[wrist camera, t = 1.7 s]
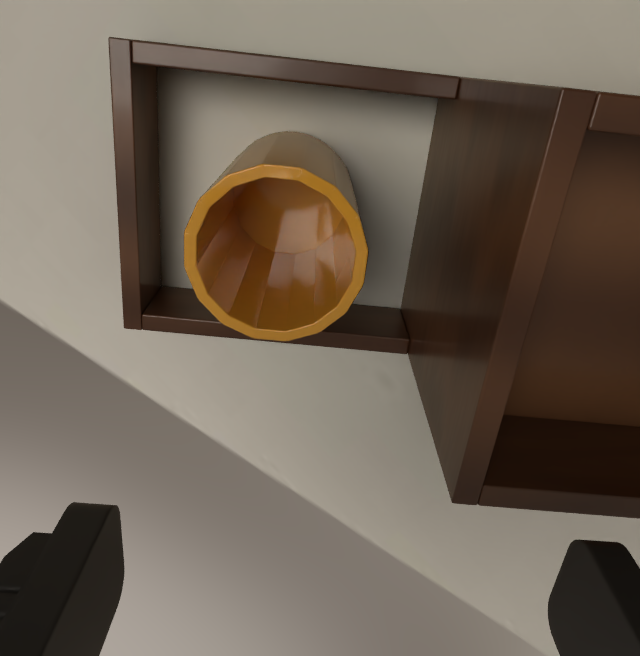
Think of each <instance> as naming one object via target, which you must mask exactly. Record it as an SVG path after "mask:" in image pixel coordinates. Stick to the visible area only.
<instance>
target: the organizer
mask: <svg viewBox="0 0 640 656" xmlns="http://www.w3.org/2000/svg"><path fill="white" fill-rule="evenodd" d="M109 57H110V76H111V95H112V113H113V132H114V151H115V169H116V188H117V207H118V225H119V244H120V263H121V281H122V300H123V319H124V328H126V329H137V330H142V329H143V330H151V331H162V332H172V333H183V334H194V335H205V336H216V337H227V338H237V339H248V340H259V341H270V342H281V343H292V344H303V345H313V346H324V347H335V348H346V349H357V350H368V351H378V352H389V353H400V354H407V353H408V356H409V359H410V363H411V366H412V369H413V373H414V376H415V380H416V383H417V386H418V390H419V393H420V396H421V400H422V403H423V407H424V410H425V413H426V417H427V420H428V423H429V427H430V430H431V434H432V437H433V440H434V444H435V447H436V450H437V454H438V457H439V461H440V464H441V467H442V471H443V474H444V477H445V481H446V484H447V488H448V491H449V494H450V498H451V501H452V503H456V504H468V505H477V503H478V505H480V506H492V507H505V508H517V509H529V510H542V511H554V512H566V513H579V514H591V515H603V516H616V517H628V518H640V96H635V95H626V94H617V93H608V92H600V91H591V90H582V89H573V88H564V87H555V86H545V85H535V84H525V83H516V82H506V81H496V80H486V79H477V78H467V77H458V76H449V75H440V74H431V73H422V72H413V71H405V70H396V69H387V68H378V67H369V66H361V65H352V64H343V63H334V62H325V61H317V60H308V59H299V58H290V57H281V56H272V55H264V54H255V53H246V52H237V51H228V50H220V49H211V48H202V47H193V46H184V45H176V44H167V43H158V42H149V41H140V40H131V39H123V38H114V37H109ZM157 67H163V68H172V69H181V70H190V71H199V72H208V73H217V74H226V75H235V76H244V77H253V78H262V79H271V80H280V81H289V82H298V83H307V84H316V85H325V86H333V87H342V88H351V89H360V90H369V91H378V92H387V93H396V94H405V95H414V96H423V97H432V98H439V99H438V104H437V110H436V115H435V121H434V127H433V132H432V138H431V143H430V149H429V154H428V160H427V166H426V171H425V177H424V182H423V188H422V193H421V199H420V205H419V210H418V216H417V221H416V227H415V232H414V238H413V244H412V249H411V255H410V260H409V266H408V272H407V277H406V283H405V288H404V294H403V299H402V305H401V310H400V309H395V308H384V307H374V306H364V305H353V304H351V306H350V308H349V309H348V311H347V312H346V313H345V314H344V315H343V316H341V317H340V318H339V319H337V320H336V321H335V322H333V323H332V324H331V325H329V326H328V327H326V328H325V329H324V330H322V331H321V332H319V333H316V334H313V335H309V336H305V337H302V338H298V339H294V340H290V341H276V340H265V339H254V338H251V337H249V336H247V335H245V334H243V333H241V332H238V331H236V330H234V329H232V328H230V327H228V326H226V325H224V324H223V323H221V322H220V321H219V320H218V319H217V318H216V317H215V316H214V315H213V314H212V313H211V312H210V311H209V310H208V309H207V308H206V307H205V306H204V305H203V304H202V303H201V302H200V301H199V299H198V298H197V296H196V294H195V291H194V289H186V288H175V287H165V286H163V287H161V247H160V200H159V152H158V105H157Z"/></svg>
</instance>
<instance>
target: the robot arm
mask: <svg viewBox="0 0 640 656" xmlns="http://www.w3.org/2000/svg"><path fill="white" fill-rule="evenodd" d="M123 580H124V557H123V545H122V533H121V520H120V511H119V508H118V506H117V505H103V504H88V503H75V502H73V503H71V504H70V505H69V506H68V507H67V509H66V510H65V512H64V513H63V515H62V517H61V519H60V520H59V522H58V524H57V526H56V527H55V529H54V531H53V533H52V534H51V533H35V532H33V533H32V534H31V535H30V536H28V537H27V538H26V539H25V540H24V541H22V542H21V543H20V544H19V545H18V546H17V547H15V548H14V549H13V550H12V551H10V552H9V553H8V554H7V555H6V556H5V557H4V558H3V560H2V561H1V563H0V656H99V654H100V652H101V649H102V646H103V644H104V641H105V639H106V636H107V633H108V631H109V628H110V625H111V622H112V620H113V617H114V614H115V612H116V609H117V606H118V603H119V600H120V596H121V592H122V586H123ZM548 619H549V626H550V630H551V634H552V636H553V639H554V642H555V644H556V647H557V649H558V652H559V654H560V656H640V568H639V567H638V565H637V564H636V562H635V560H634V559H633V557H632V556H631V554H630V552H629V551H628V550H627V548H626V547H625V546H624V545H622V544H621V543H618V542H604V541H590V540H574V541H573V542H572V543H571V544H570V546H569V548H568V550H567V553H566V556H565V558H564V561H563V563H562V566H561V569H560V571H559V574H558V576H557V579H556V582H555V584H554V587H553V589H552V592H551V595H550V598H549V602H548Z"/></svg>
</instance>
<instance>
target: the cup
mask: <svg viewBox="0 0 640 656" xmlns="http://www.w3.org/2000/svg"><path fill="white" fill-rule="evenodd" d="M367 259H368V246H367V242H366V238H365V234H364V230H363V226H362V222H361V218H360V214H359V210H358V206H357V202H356V198H355V194H354V190H353V187H352V183H351V179H350V175H349V172H348V170H347V167H346V166H345V165H344V163H343V161H342V160H341V158H340V157H339V156H338V155H337V153H336V152H335V151H334V150H333V149H332V148H331V147H329V146H328V145H327V144H326V143H324V142H323V141H321V140H319V139H317V138H315V137H313V136H311V135H307V134H304V133H299V132H288V131H286V132H277V133H273V134H269V135H267V136H264V137H262V138H260V139H257V140H256V141H254V142H253V143H252V144H251V145H249V146H248V147H247V148H246V149H245V150H244V151H243V152H242V153H241V154H240V155H238V156H237V157H236V158H235V160H234V161H233V162H232V163H231V164H230V165H229V166H228V167H227V168H226V170H225V171H224V172H223V173H222V174H221V175H220V176H219V177H218V179H217V180H216V181H215V182H214V183H213V184H212V185H211V186H210V187H209V189H208V190H207V191H206V192H205V193H204V194H203V195H202V196H201V197H200V199H199V200H198V202H197V204H196V206H195V209H194V211H193V213H192V215H191V217H190V220H189V222H188V224H187V226H186V229H185V232H184V266H185V270H186V273H187V275H188V277H189V280H190V282H191V284H192V287H193V289H194V291H195V294H196V296H197V298H198V299H199V301H200V302H201V303H202V304H203V305H204V306H205V307H206V308H207V309H208V310H209V311H210V312H211V313H212V314H213V315H214V316H215V317H216V318H217V319H218V320H219V321H220V322H221V323H223V324H224V325H226V326H228V327H230V328H232V329H234V330H236V331H238V332H241V333H243V334H245V335H247V336H249V337H251V338H254V339H265V340H276V341H290V340H294V339H298V338H302V337H305V336H309V335H313V334H316V333H319V332H321V331H322V330H324V329H325V328H326V327H328V326H329V325H331V324H332V323H333V322H335V321H336V320H337V319H339V318H340V317H341V316H343V315H344V314H345V313H346V312H347V311H348V309H349V308H350V306H351V304H352V303H353V301H354V299H355V298H356V296H357V295H358V293H359V291H360V290H361V288H362V286H363V284H364V279H365V272H366V265H367Z"/></svg>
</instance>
